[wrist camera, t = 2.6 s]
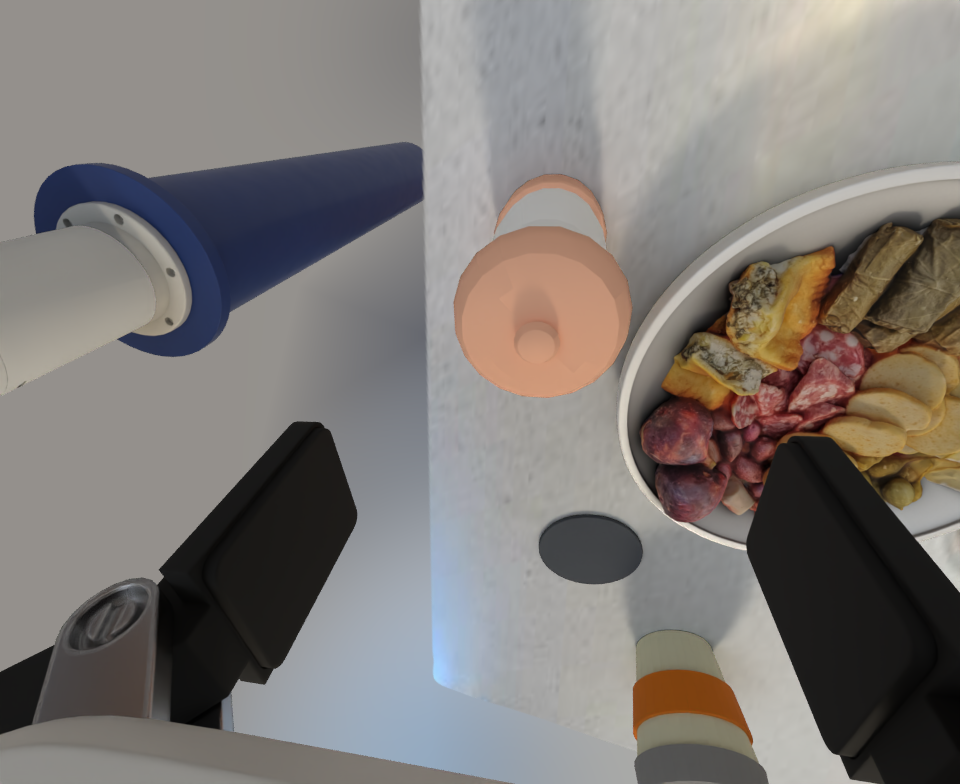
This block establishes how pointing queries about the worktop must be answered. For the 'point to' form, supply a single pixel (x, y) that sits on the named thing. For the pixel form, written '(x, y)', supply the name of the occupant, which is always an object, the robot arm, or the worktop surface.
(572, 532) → the coaster
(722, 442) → the bowl
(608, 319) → the salt shaker
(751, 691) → the worktop surface
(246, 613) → the robot arm
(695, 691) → the reusable coffee cup
